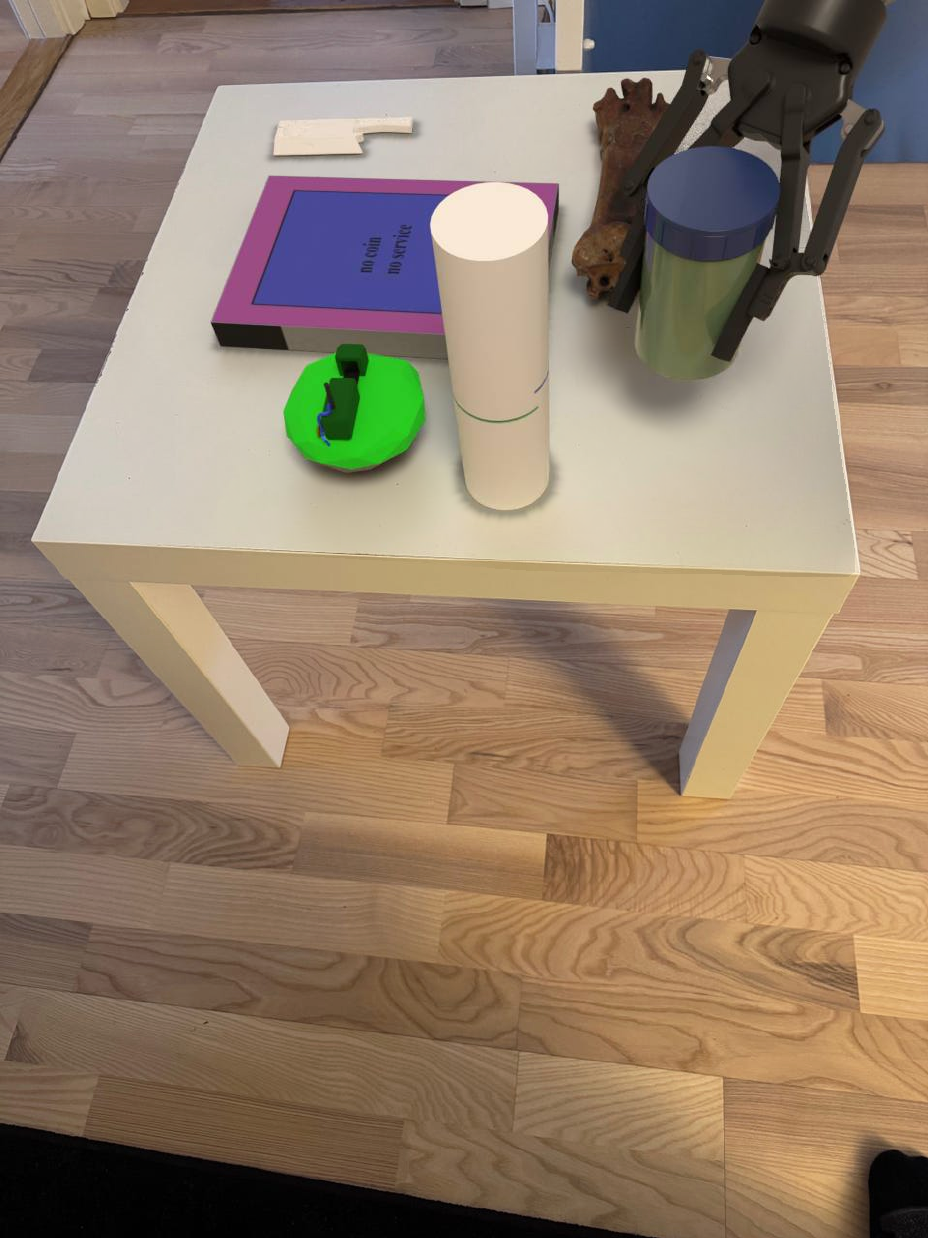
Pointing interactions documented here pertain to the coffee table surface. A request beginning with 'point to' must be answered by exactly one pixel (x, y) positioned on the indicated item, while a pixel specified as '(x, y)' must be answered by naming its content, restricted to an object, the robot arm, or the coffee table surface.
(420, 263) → the book
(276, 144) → the butcher knife
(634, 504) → the coffee table surface
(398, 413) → the green rounded piece
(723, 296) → the jar
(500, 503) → the cylindrical container
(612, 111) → the bone
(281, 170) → the coffee table surface
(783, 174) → the robot arm
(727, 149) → the jar lid
